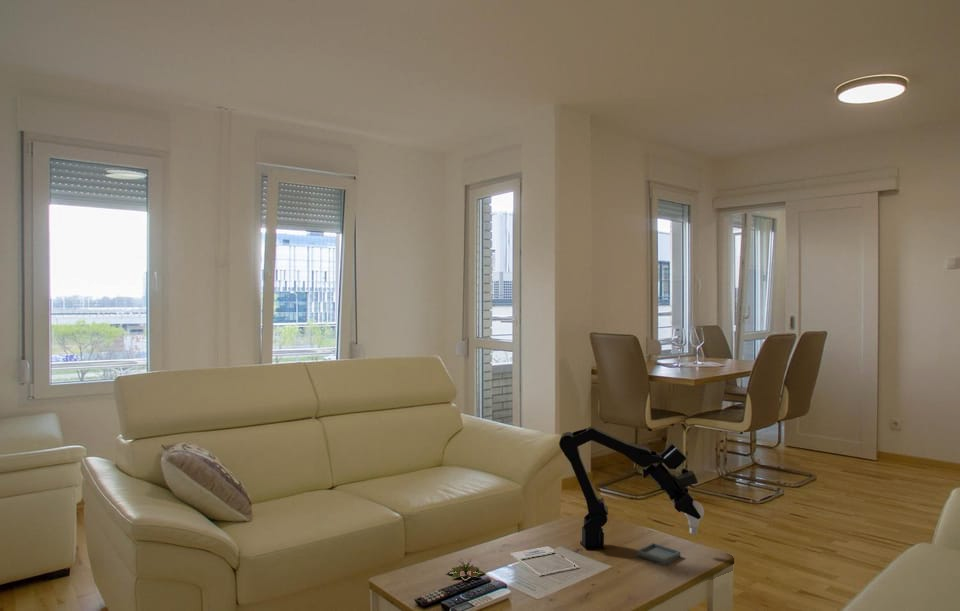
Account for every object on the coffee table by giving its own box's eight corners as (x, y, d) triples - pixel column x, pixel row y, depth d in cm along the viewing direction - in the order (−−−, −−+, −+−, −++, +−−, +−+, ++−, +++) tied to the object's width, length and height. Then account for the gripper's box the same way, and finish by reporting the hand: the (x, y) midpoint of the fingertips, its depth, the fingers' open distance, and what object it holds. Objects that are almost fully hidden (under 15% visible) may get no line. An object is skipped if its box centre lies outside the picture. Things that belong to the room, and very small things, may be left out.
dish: (664, 565, 192) (664, 559, 192) (636, 556, 200) (636, 550, 200) (680, 557, 199) (680, 551, 199) (652, 548, 207) (652, 542, 207)
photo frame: (548, 545, 206) (579, 566, 190) (548, 549, 206) (579, 569, 190) (509, 552, 199) (538, 574, 183) (509, 556, 199) (538, 578, 183)
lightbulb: (704, 533, 203) (705, 499, 203) (702, 539, 197) (703, 505, 198) (684, 529, 206) (685, 497, 206) (682, 535, 200) (682, 502, 200)
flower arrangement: (466, 588, 176) (466, 572, 176) (437, 575, 184) (437, 560, 184) (493, 575, 185) (494, 560, 185) (465, 563, 193) (465, 549, 193)
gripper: (687, 469, 193) (723, 507, 191) (678, 456, 212) (711, 490, 210) (660, 492, 195) (695, 530, 193) (654, 477, 213) (686, 511, 211)
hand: (698, 514), depth 201 cm, fingers closed on lightbulb, 6 cm apart
